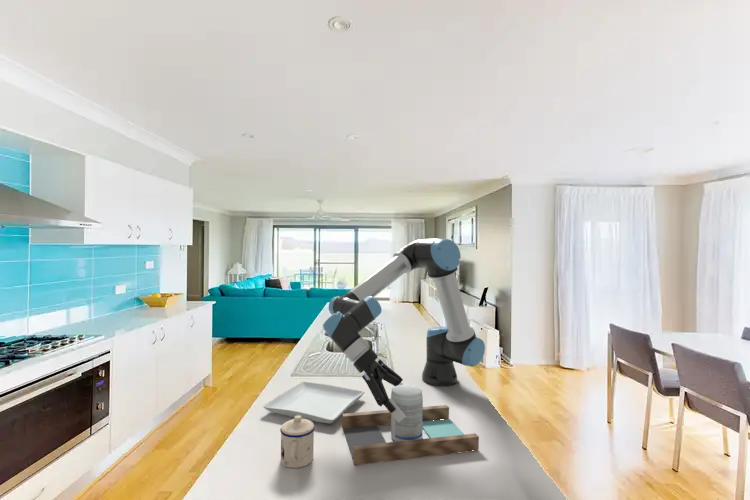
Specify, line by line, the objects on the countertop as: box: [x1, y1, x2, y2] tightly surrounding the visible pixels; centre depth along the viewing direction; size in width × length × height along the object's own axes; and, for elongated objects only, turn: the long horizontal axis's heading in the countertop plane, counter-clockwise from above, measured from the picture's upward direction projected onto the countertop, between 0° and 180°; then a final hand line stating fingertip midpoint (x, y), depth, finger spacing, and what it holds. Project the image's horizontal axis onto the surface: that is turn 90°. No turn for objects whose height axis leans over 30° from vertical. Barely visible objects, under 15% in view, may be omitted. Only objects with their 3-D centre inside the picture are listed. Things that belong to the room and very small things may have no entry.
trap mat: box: [342, 426, 387, 460], centre depth 114 cm, size 11×17×1 cm, turn 13°
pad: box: [422, 418, 465, 438], centre depth 119 cm, size 11×17×1 cm, turn 13°
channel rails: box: [341, 404, 480, 466], centre depth 117 cm, size 36×22×4 cm, turn 103°
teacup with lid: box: [279, 415, 315, 469], centre depth 102 cm, size 12×9×12 cm
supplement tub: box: [390, 384, 424, 442], centre depth 117 cm, size 10×10×15 cm
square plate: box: [262, 381, 365, 424], centre depth 138 cm, size 27×27×4 cm
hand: (407, 410), depth 116 cm, fingers open, 13 cm apart
